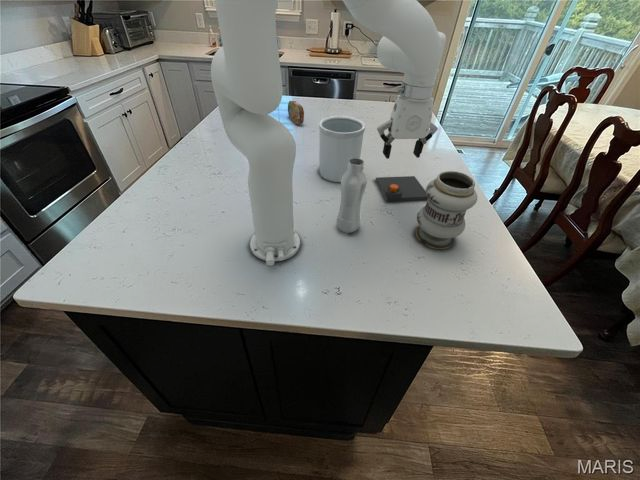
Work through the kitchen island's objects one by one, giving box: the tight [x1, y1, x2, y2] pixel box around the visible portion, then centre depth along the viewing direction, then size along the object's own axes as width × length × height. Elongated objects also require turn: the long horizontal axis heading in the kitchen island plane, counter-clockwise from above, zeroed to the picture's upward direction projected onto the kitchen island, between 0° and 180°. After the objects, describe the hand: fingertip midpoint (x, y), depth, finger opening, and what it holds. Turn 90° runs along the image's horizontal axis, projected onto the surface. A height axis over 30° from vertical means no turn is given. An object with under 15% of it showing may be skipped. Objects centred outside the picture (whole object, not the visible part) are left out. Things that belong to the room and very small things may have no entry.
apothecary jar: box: [415, 170, 478, 250], centre depth 74 cm, size 12×12×18 cm
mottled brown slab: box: [287, 100, 305, 126], centre depth 138 cm, size 15×3×8 cm, turn 25°
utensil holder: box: [318, 115, 366, 183], centre depth 99 cm, size 15×15×18 cm
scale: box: [374, 175, 428, 203], centre depth 97 cm, size 13×14×3 cm
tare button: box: [389, 184, 398, 192], centre depth 92 cm, size 3×3×2 cm
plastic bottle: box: [336, 158, 368, 234], centre depth 75 cm, size 6×7×20 cm
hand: (401, 155), depth 85 cm, fingers open, 8 cm apart
